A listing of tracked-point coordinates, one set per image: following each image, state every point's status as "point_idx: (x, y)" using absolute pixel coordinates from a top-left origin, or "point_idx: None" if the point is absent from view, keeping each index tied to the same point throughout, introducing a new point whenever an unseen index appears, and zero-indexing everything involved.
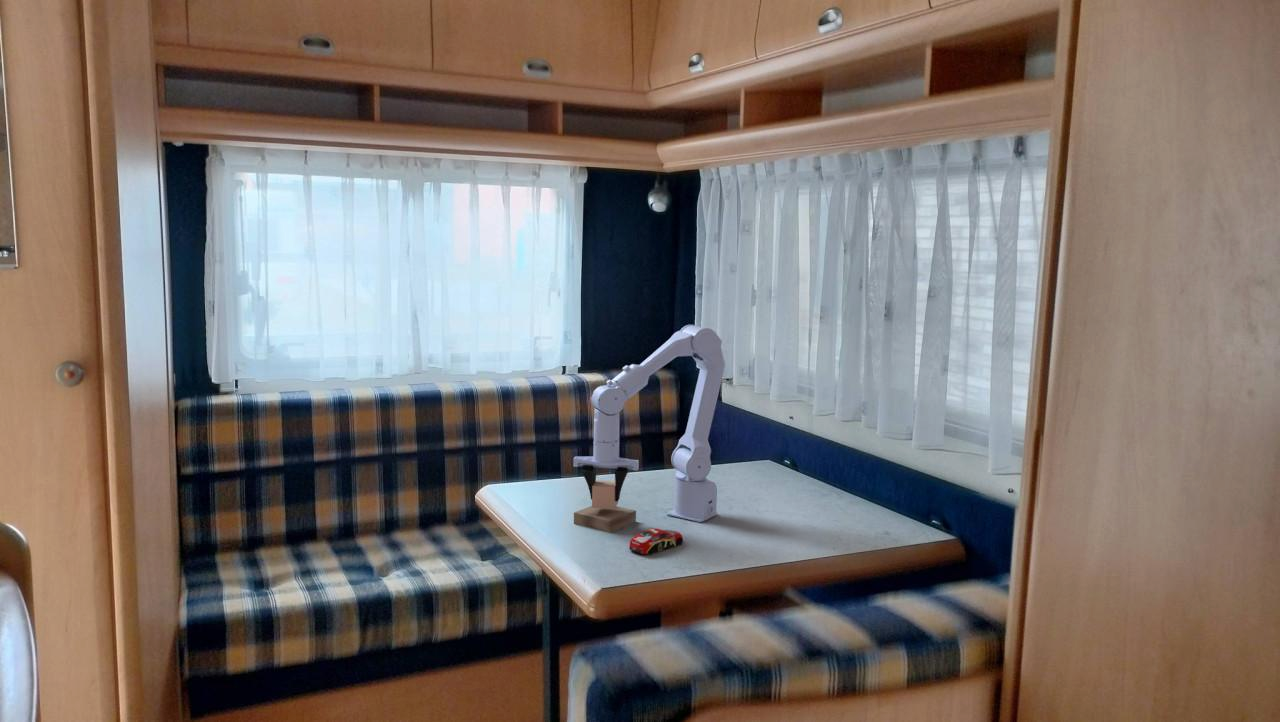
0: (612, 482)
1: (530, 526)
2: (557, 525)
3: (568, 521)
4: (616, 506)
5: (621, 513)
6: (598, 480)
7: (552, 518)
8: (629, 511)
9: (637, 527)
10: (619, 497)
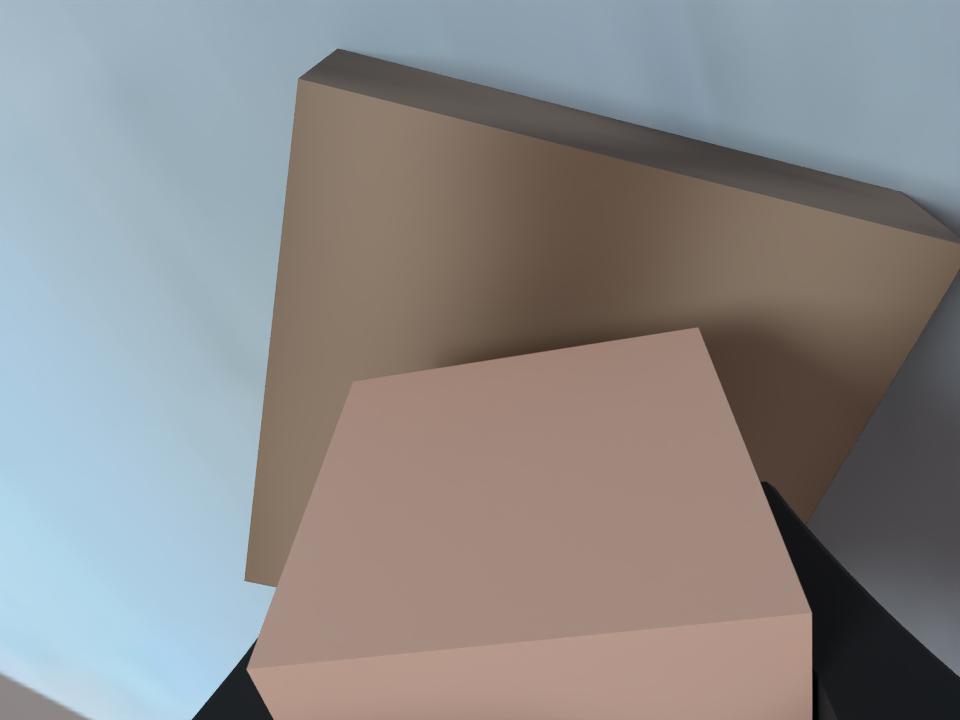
0: (673, 701)
1: (26, 650)
2: (185, 574)
3: (195, 458)
4: (617, 166)
5: (778, 432)
6: (289, 672)
7: (6, 436)
8: (873, 317)
9: (946, 380)
10: (781, 500)
